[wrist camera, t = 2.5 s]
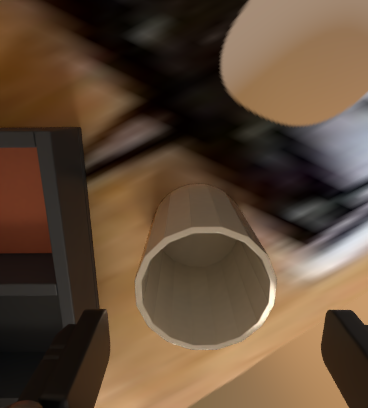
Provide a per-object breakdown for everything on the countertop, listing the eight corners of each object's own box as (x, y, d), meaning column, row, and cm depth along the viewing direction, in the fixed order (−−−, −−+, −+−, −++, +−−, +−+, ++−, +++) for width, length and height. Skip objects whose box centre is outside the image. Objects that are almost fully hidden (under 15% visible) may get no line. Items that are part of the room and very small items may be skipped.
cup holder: (-11, 354, 24) (-55, 408, 19) (-65, 128, 19) (-141, 132, 14) (104, 353, 24) (86, 407, 19) (81, 127, 19) (49, 130, 14)
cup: (154, 267, 22) (138, 350, 14) (151, 183, 20) (131, 227, 12) (239, 266, 22) (270, 349, 14) (243, 183, 20) (282, 226, 12)
